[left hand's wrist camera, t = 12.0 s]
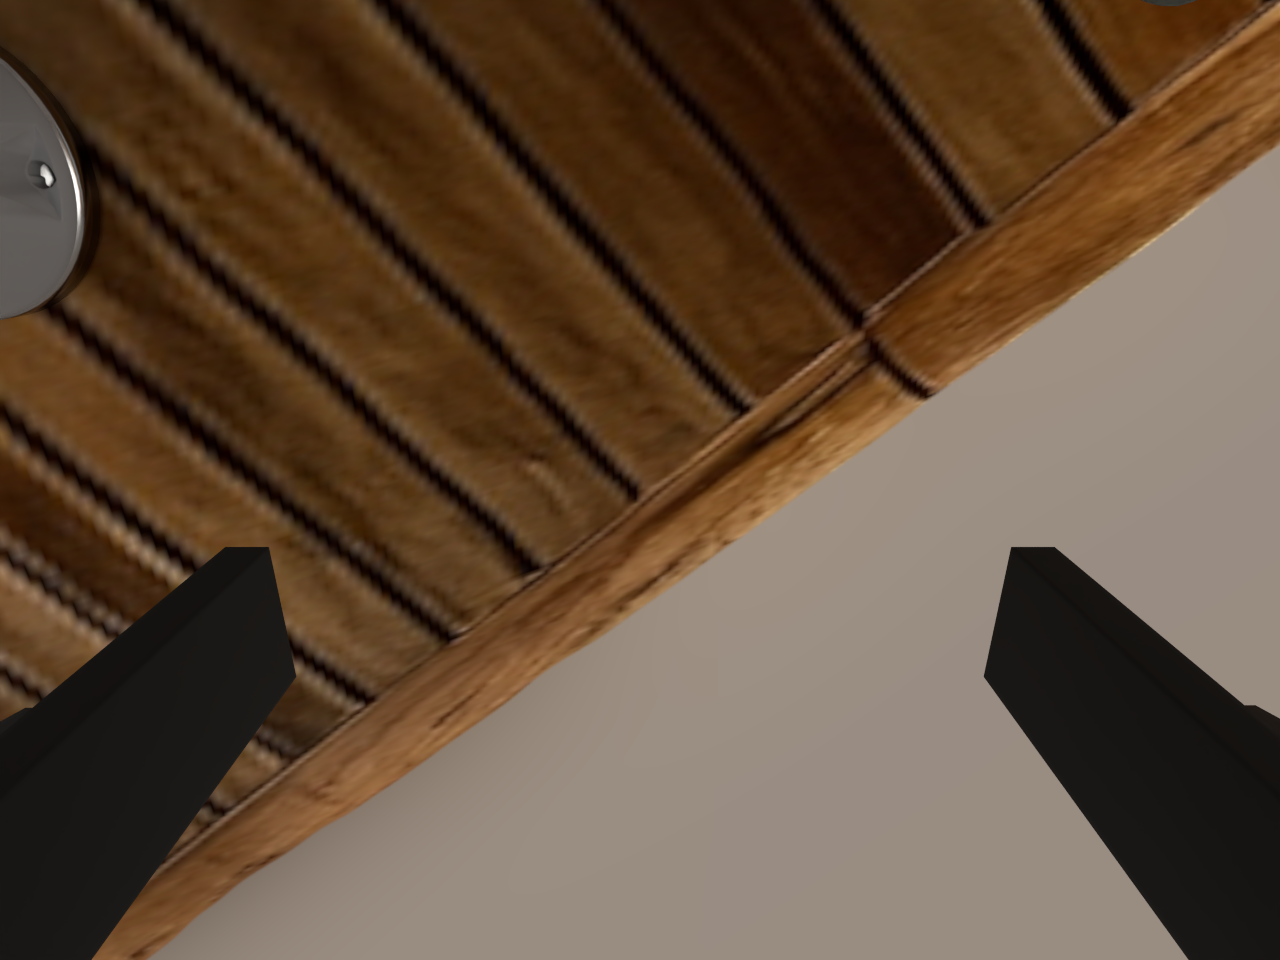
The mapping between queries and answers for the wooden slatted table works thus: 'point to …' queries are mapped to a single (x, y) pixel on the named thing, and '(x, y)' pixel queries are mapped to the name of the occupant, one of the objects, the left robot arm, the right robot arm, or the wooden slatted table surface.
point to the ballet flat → (1168, 2)
